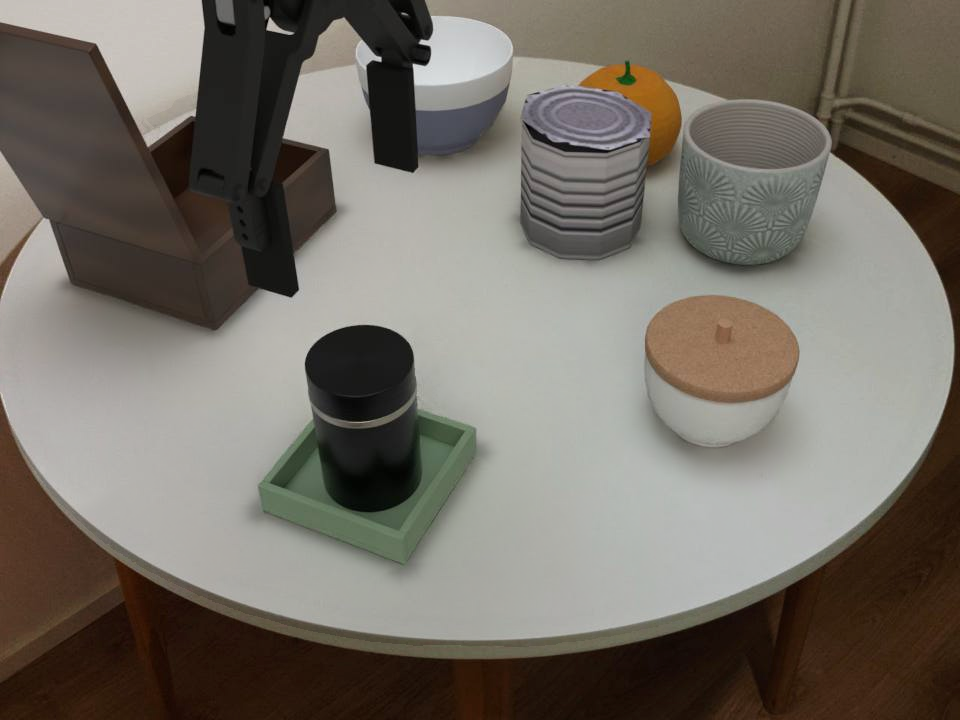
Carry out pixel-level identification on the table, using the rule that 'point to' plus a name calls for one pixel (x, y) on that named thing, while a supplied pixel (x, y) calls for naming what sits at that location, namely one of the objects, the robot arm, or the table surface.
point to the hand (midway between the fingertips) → (339, 222)
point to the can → (582, 171)
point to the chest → (197, 237)
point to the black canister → (365, 416)
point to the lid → (82, 144)
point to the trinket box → (718, 368)
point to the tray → (386, 533)
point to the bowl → (455, 83)
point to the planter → (750, 179)
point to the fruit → (644, 102)
